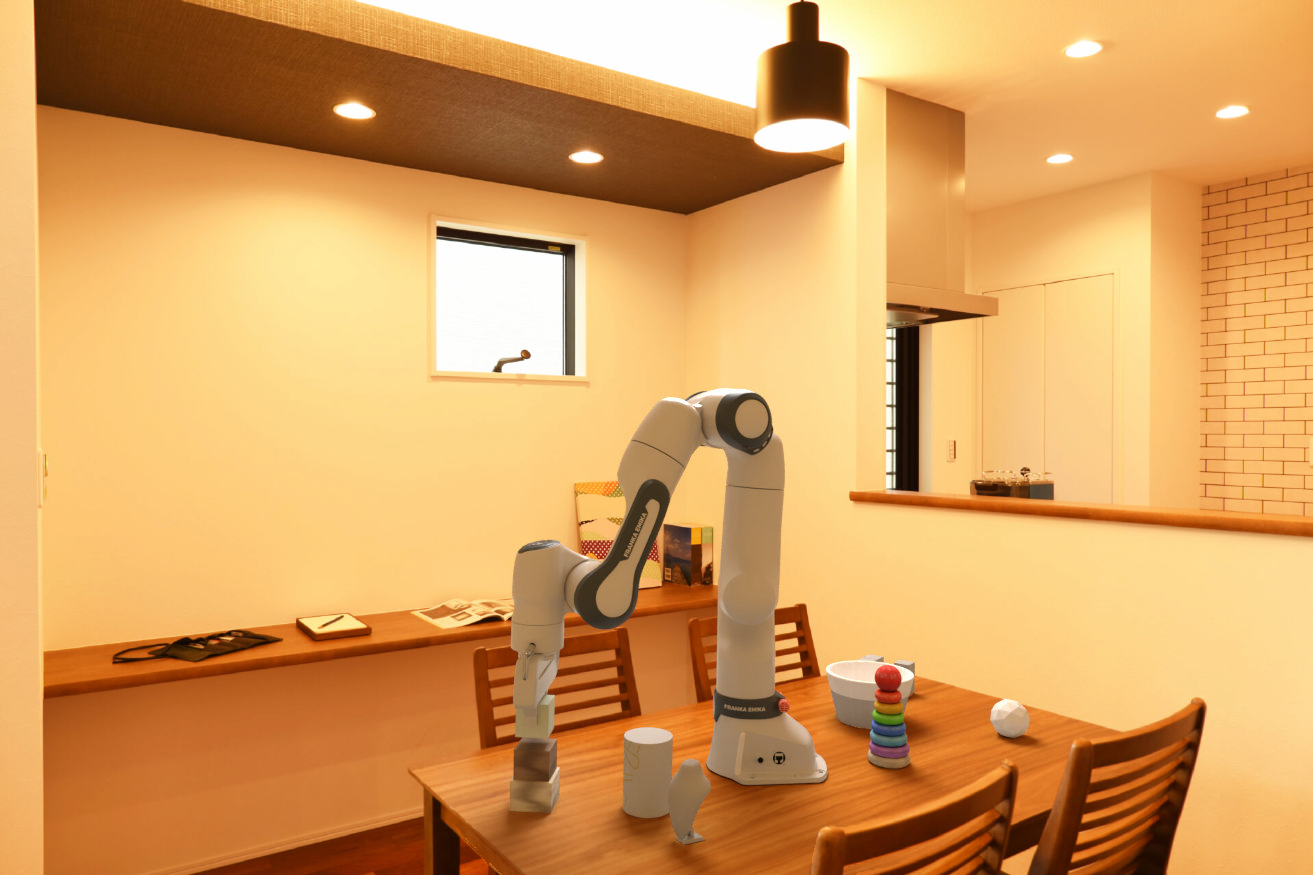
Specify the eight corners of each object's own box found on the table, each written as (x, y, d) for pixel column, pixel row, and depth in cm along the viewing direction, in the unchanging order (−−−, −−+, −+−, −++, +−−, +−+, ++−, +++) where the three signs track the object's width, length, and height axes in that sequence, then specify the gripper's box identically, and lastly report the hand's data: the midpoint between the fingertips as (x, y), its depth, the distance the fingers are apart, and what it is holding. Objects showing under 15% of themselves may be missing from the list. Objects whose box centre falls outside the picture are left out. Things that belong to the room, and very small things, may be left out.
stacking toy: (876, 751, 171) (877, 657, 171) (916, 760, 167) (917, 664, 167) (861, 763, 165) (862, 665, 165) (902, 773, 160) (903, 672, 160)
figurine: (659, 834, 133) (660, 757, 134) (686, 825, 137) (687, 750, 137) (689, 853, 127) (690, 772, 127) (716, 844, 131) (717, 765, 131)
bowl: (845, 700, 205) (846, 655, 205) (925, 717, 194) (926, 669, 194) (810, 721, 189) (811, 672, 189) (895, 740, 178) (895, 688, 178)
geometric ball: (1007, 745, 184) (1016, 710, 188) (1033, 743, 177) (1041, 707, 181) (978, 728, 183) (987, 694, 187) (1003, 726, 176) (1012, 690, 180)
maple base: (559, 796, 148) (560, 767, 148) (551, 813, 141) (551, 783, 141) (519, 794, 148) (520, 765, 148) (509, 811, 141) (509, 781, 141)
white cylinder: (621, 797, 147) (623, 727, 147) (668, 796, 148) (670, 726, 148) (624, 818, 139) (625, 744, 139) (673, 817, 140) (675, 743, 140)
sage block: (554, 727, 147) (554, 695, 147) (548, 738, 142) (548, 704, 142) (522, 725, 148) (523, 693, 148) (515, 736, 142) (515, 703, 142)
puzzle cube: (848, 695, 210) (849, 663, 210) (868, 685, 220) (869, 653, 220) (895, 705, 203) (896, 671, 203) (914, 694, 212) (915, 661, 212)
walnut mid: (556, 767, 147) (557, 738, 147) (548, 781, 141) (549, 751, 141) (522, 766, 148) (522, 737, 148) (513, 779, 142) (513, 749, 142)
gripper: (544, 653, 134) (542, 741, 134) (565, 625, 155) (564, 702, 154) (504, 651, 134) (502, 739, 134) (531, 623, 155) (529, 700, 155)
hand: (535, 719), depth 145 cm, fingers closed on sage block, 5 cm apart
